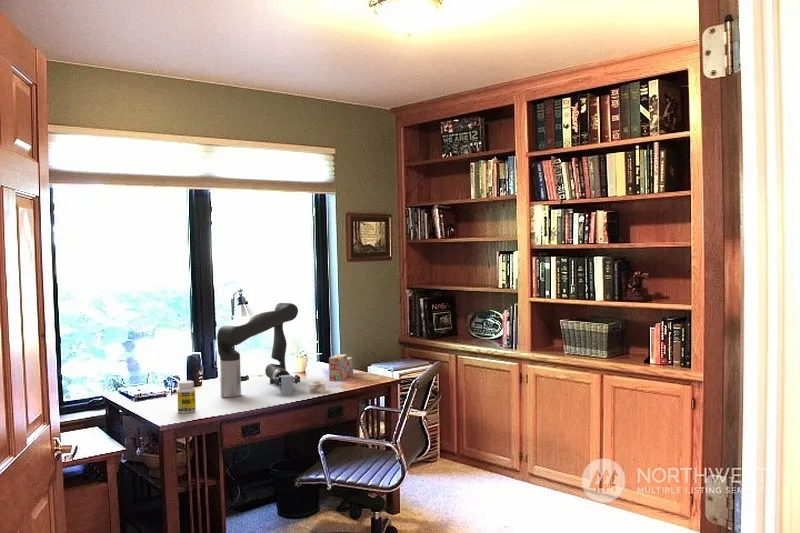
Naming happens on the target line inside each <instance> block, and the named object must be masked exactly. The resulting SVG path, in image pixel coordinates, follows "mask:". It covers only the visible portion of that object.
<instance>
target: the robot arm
mask: <svg viewBox="0 0 800 533" xmlns="http://www.w3.org/2000/svg"><path fill="white" fill-rule="evenodd" d="M298 314H299V309H298V307H297V305H296V304H294V303H290V302H280V303H277V304H276V305H275V307H274V310H269V311H264V312H260V313H258V314H255V315H254V316H251V317H250V318H249V319H248V321H247V323H244V324H241V325H222V326H221V327H220V328H219V329H218V330H217V334H216V338H217V339H216V341H217V354H218V355H219V361H220V362H219V364H220V367H219V368H220V371H219V372H220V375H219V381H220V397H221V398H236V397H239V396H242V382H241V380H242V379H241V375H242V374H241V354H240V352H239V351H237V350H235V348H234V346H237V345H238V346H239V345H240V344H242V343H243V342H245V341H247V340H248V339H250V338H252V337H255V336H257V335H259V334H262V333H265V332H266V331H269V330H270V329H272V328H273V344H272V349H271V354H270V355H271V359H273V360H274V361H278V363H279V364H277V363H269V364H268V365H266V367H265V369H264V372H265V373H264V374H265V376H266V378H269V384H270V385H276V386H281V387H282V384H281V376H282V375H291V374H290V373H289V371H288V370H287V368H286V352H287V344H288V343H287V339H286V336H285V332H284V327H283V326H284V323H287V322H291V321H293V320H295V319H296V317H298ZM292 377H293V383H294V384H295V385H296V384H297V385H298V383H301V376H300V375H298V374H295V375H292Z"/></svg>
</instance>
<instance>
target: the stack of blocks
mask: <svg viewBox="0 0 800 533" xmlns="http://www.w3.org/2000/svg"><path fill="white" fill-rule="evenodd" d="M328 372H329V373H328V375H329V376H328V378H329V379H328V380H329V381H330V382H341V381H343V380H345V379H346V378H348V377H349V375H350V376H351V375H353V374H354V362H353V356H348V354H344V353H342V354H341V353H339V354H338V353H336V354H334V355H332V356H330V357H328ZM347 376H348V377H347ZM344 378H345V379H344Z"/></svg>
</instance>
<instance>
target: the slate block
mask: <svg viewBox="0 0 800 533" xmlns="http://www.w3.org/2000/svg"><path fill="white" fill-rule="evenodd" d="M292 376H293V375H292V374H290V375H282V376H281V384H282V386H281V395H282V397H285V396H284V395H291V396H293V395H294V385H293V377H292Z"/></svg>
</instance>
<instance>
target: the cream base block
mask: <svg viewBox="0 0 800 533" xmlns="http://www.w3.org/2000/svg"><path fill="white" fill-rule="evenodd" d="M308 391H309V392H308V393H309V395H313V394H314V393H318V394H326V381H325V380H324V381H323V380H322V381H320V380H319V381H318V380H317V381H308Z"/></svg>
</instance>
